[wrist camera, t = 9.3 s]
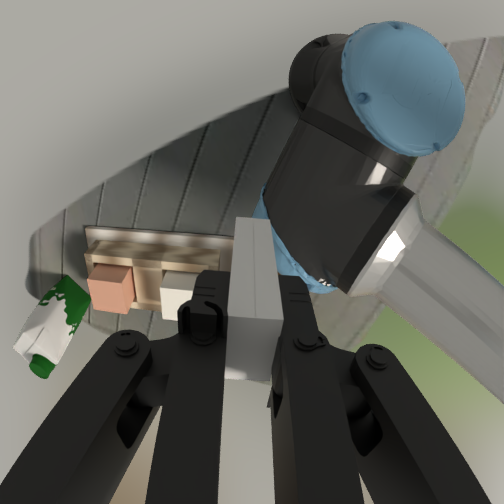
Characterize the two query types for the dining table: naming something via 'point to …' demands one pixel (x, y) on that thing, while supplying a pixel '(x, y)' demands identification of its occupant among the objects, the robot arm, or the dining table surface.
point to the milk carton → (52, 326)
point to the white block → (176, 291)
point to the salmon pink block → (112, 287)
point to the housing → (156, 256)
